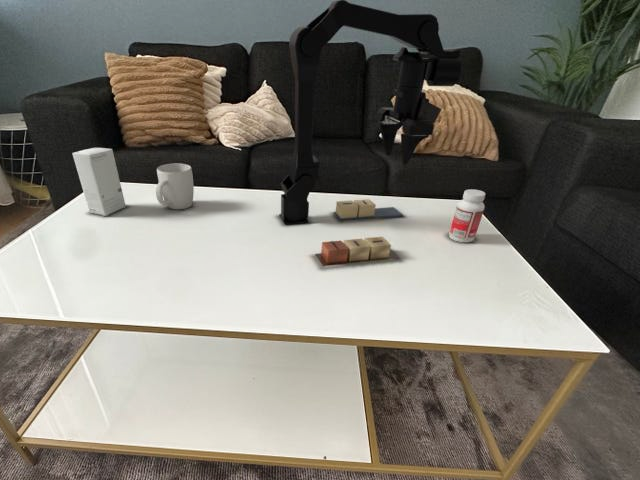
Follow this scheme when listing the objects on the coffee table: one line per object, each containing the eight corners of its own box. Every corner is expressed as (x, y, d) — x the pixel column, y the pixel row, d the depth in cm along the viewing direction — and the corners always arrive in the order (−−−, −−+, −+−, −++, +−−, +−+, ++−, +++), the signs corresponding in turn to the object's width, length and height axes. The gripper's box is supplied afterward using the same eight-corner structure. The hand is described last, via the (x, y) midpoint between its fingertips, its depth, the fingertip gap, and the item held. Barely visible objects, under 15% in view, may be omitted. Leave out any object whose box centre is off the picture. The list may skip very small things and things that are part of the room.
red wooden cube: (327, 263, 88) (328, 250, 86) (320, 254, 91) (322, 241, 89) (346, 261, 88) (348, 248, 86) (339, 252, 92) (341, 240, 90)
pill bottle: (470, 233, 103) (484, 188, 96) (477, 243, 98) (492, 197, 91) (445, 232, 103) (458, 187, 96) (451, 242, 99) (465, 196, 92)
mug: (176, 198, 119) (170, 161, 112) (202, 203, 116) (197, 165, 109) (148, 212, 110) (140, 173, 103) (175, 218, 107) (169, 178, 101)
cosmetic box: (105, 216, 107) (89, 155, 97) (88, 213, 109) (70, 152, 99) (127, 206, 113) (113, 148, 103) (110, 203, 114) (95, 145, 105)
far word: (340, 221, 107) (342, 208, 105) (333, 213, 112) (334, 200, 109) (402, 216, 111) (405, 203, 109) (392, 209, 115) (395, 195, 113)
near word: (322, 268, 87) (324, 252, 85) (314, 256, 92) (315, 240, 89) (398, 260, 91) (402, 245, 88) (387, 249, 95) (390, 234, 93)
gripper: (464, 91, 88) (444, 168, 98) (421, 81, 101) (407, 149, 111) (418, 91, 85) (402, 170, 95) (380, 80, 99) (370, 150, 109)
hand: (396, 159), depth 103 cm, fingers open, 9 cm apart
